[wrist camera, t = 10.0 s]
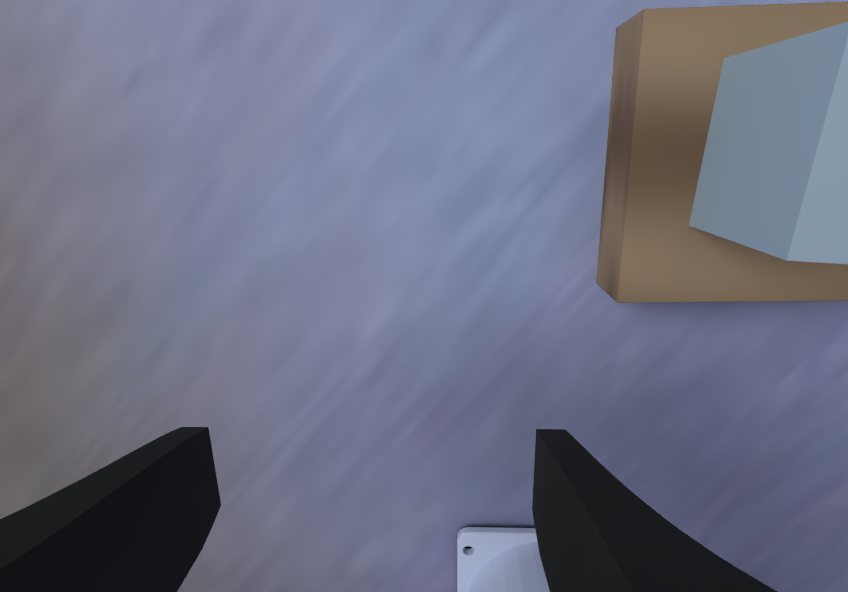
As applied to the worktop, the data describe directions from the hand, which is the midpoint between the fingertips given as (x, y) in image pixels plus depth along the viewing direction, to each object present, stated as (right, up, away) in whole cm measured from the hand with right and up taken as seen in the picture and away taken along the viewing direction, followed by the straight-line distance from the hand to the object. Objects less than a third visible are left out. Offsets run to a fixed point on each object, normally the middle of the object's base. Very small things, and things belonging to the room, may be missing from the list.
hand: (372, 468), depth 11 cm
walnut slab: (+12, +9, +8) cm, 17 cm away
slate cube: (+12, +8, +5) cm, 16 cm away
